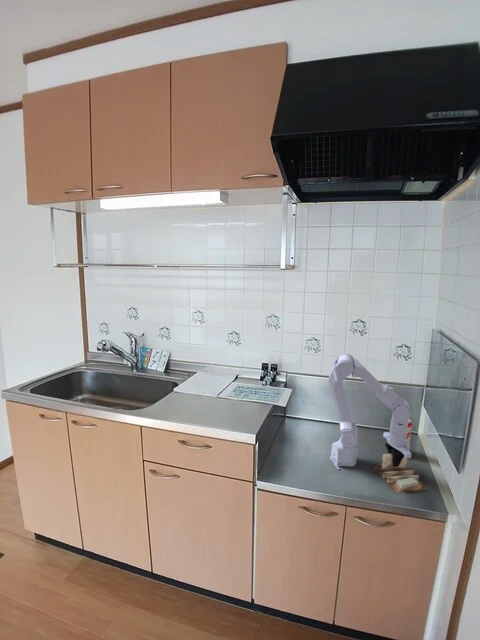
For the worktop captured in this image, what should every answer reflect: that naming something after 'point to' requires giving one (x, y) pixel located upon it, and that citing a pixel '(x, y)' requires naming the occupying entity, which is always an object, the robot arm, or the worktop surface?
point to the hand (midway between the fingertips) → (394, 464)
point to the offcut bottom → (409, 487)
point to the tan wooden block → (388, 462)
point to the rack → (397, 476)
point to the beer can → (409, 432)
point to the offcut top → (407, 482)
